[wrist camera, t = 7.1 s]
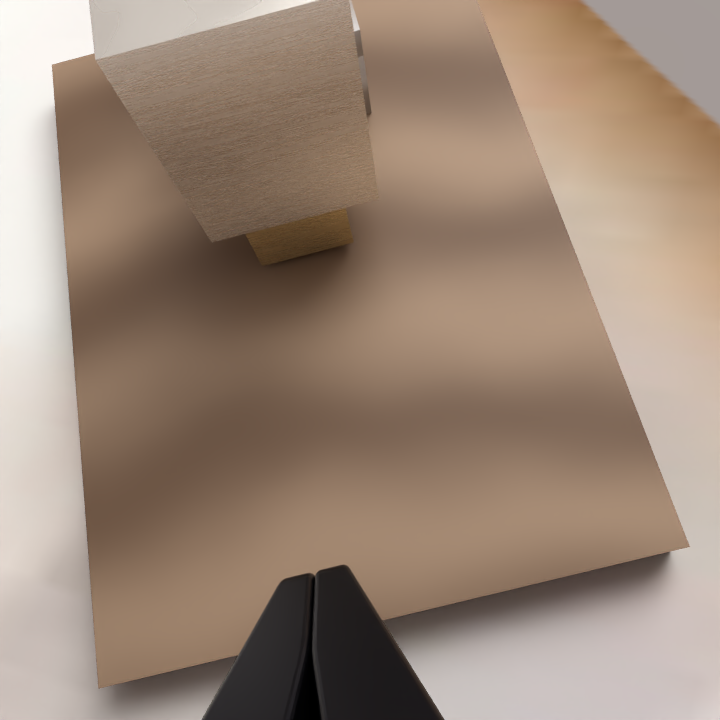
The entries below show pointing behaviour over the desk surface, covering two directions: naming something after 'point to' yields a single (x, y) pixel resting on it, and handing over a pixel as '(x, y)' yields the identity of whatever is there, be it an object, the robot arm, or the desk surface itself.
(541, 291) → the lock plate
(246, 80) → the white boxy piece
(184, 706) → the desk surface
